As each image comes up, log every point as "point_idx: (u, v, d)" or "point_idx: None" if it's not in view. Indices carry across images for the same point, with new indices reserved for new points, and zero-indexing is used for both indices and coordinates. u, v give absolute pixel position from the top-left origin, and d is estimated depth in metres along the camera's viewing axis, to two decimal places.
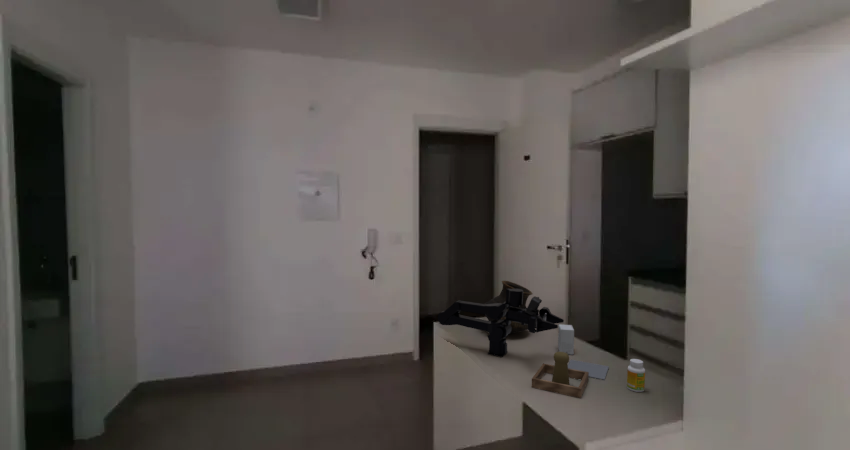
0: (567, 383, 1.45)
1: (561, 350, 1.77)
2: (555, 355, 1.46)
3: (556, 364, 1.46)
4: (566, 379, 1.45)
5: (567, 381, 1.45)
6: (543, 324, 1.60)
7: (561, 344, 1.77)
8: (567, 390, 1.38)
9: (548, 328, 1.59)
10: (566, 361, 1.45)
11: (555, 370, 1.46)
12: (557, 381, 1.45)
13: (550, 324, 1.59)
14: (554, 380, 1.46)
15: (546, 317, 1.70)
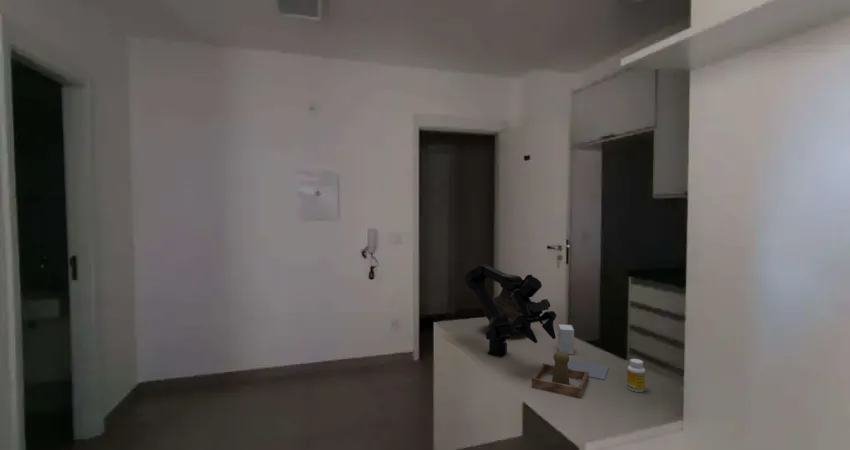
0: (567, 383, 1.45)
1: (561, 350, 1.77)
2: (555, 355, 1.46)
3: (556, 364, 1.46)
4: (566, 379, 1.45)
5: (567, 381, 1.45)
6: (527, 330, 1.53)
7: (561, 344, 1.77)
8: (567, 390, 1.38)
9: (528, 336, 1.53)
10: (566, 361, 1.45)
11: (555, 370, 1.46)
12: (557, 381, 1.45)
13: (531, 336, 1.51)
14: (554, 380, 1.46)
15: (546, 322, 1.60)
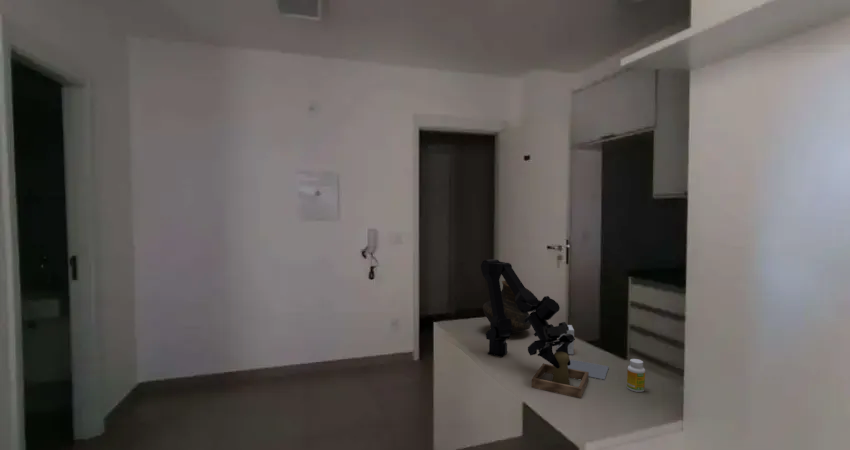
0: (567, 383, 1.45)
1: None
2: (555, 355, 1.46)
3: None
4: (566, 379, 1.45)
5: (567, 381, 1.45)
6: (548, 354, 1.47)
7: None
8: (567, 390, 1.38)
9: (550, 361, 1.46)
10: (566, 361, 1.45)
11: (555, 370, 1.46)
12: (557, 381, 1.45)
13: (554, 360, 1.45)
14: (554, 380, 1.46)
15: (560, 347, 1.52)
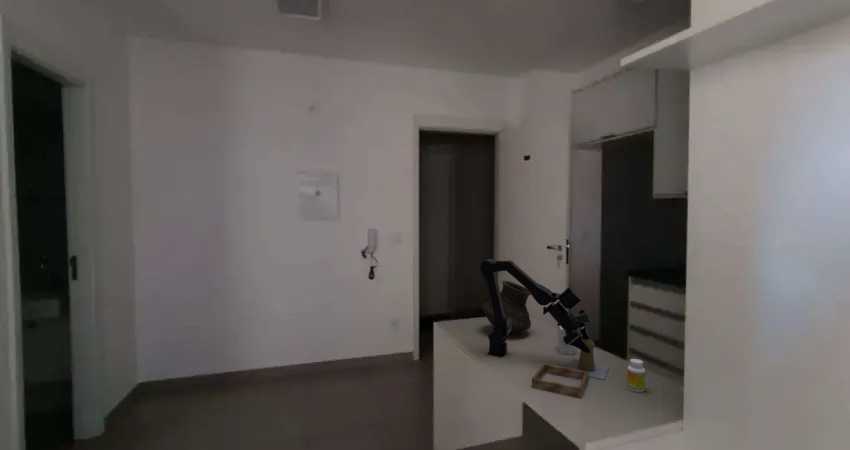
0: (594, 367, 1.59)
1: (561, 350, 1.77)
2: None
3: None
4: (593, 363, 1.59)
5: None
6: (579, 342, 1.56)
7: (561, 344, 1.77)
8: (567, 390, 1.38)
9: (581, 348, 1.56)
10: None
11: (584, 357, 1.58)
12: (588, 366, 1.57)
13: (585, 347, 1.55)
14: (584, 366, 1.58)
15: (579, 331, 1.65)
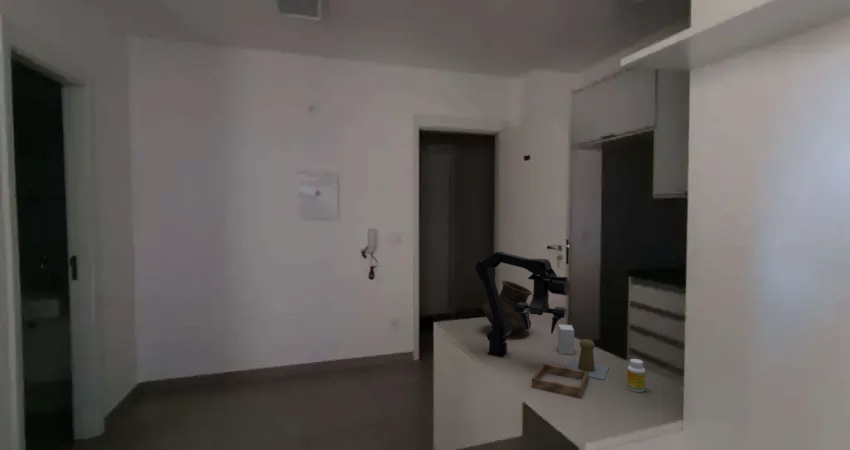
0: (594, 367, 1.59)
1: (561, 350, 1.77)
2: (584, 343, 1.58)
3: (585, 351, 1.58)
4: (593, 363, 1.59)
5: None
6: None
7: (561, 344, 1.77)
8: (567, 390, 1.38)
9: None
10: (593, 347, 1.58)
11: (584, 357, 1.58)
12: (587, 367, 1.57)
13: None
14: (584, 366, 1.58)
15: (554, 315, 1.62)
